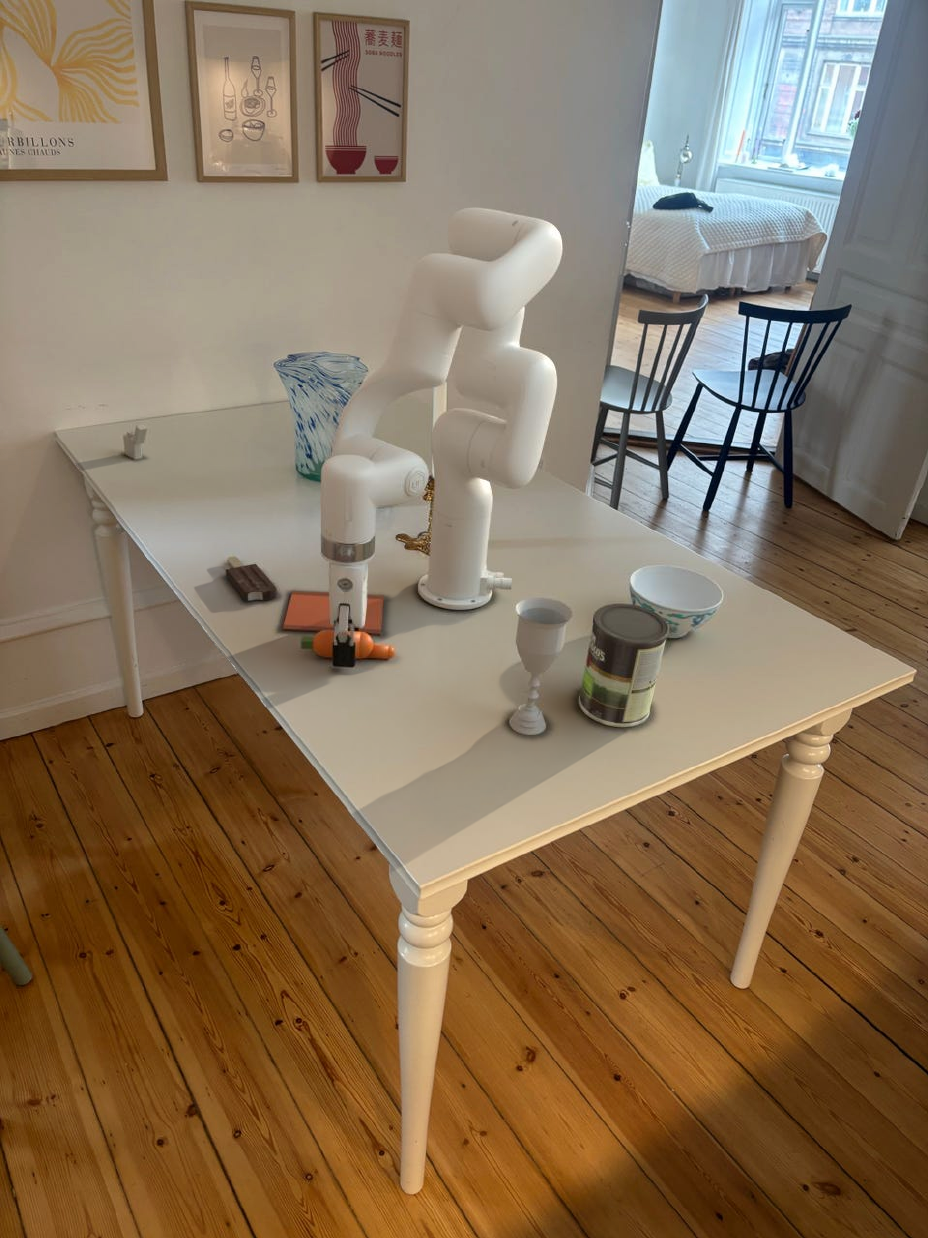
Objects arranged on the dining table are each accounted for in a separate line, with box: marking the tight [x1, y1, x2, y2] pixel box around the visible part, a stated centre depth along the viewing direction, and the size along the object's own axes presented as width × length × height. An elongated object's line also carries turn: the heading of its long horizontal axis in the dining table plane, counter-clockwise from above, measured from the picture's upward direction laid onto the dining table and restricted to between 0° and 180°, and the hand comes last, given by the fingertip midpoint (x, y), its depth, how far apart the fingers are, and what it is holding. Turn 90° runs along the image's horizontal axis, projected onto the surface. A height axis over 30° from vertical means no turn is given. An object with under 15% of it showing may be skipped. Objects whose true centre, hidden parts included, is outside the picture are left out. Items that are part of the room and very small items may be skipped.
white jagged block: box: [122, 423, 148, 461], centre depth 195 cm, size 7×2×8 cm, turn 48°
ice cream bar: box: [225, 555, 277, 602], centre depth 155 cm, size 5×2×15 cm
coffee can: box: [578, 603, 669, 728], centre depth 129 cm, size 10×10×14 cm
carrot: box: [300, 630, 396, 660], centre depth 137 cm, size 14×4×4 cm, turn 92°
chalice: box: [508, 597, 573, 736], centre depth 123 cm, size 7×7×18 cm
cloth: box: [282, 590, 384, 636], centre depth 149 cm, size 15×12×1 cm
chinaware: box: [629, 564, 724, 639], centre depth 152 cm, size 15×15×8 cm
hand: (345, 648), depth 138 cm, fingers open, 8 cm apart
